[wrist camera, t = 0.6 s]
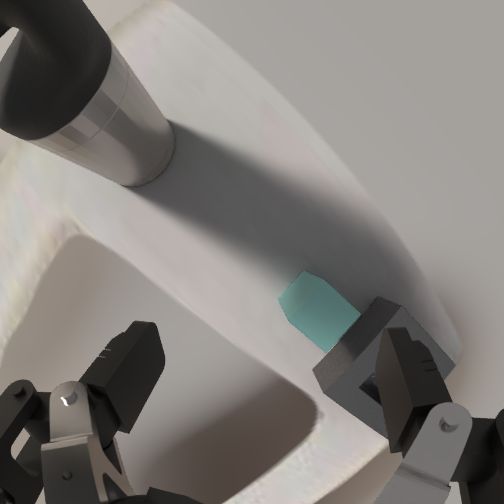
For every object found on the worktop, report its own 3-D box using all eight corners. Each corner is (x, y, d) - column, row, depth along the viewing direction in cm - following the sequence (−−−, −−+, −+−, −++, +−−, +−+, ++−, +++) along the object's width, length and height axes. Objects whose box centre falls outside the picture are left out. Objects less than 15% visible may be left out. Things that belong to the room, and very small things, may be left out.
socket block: (312, 369, 32) (323, 392, 26) (378, 296, 32) (401, 305, 26) (371, 415, 32) (388, 439, 26) (430, 349, 32) (455, 365, 26)
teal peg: (277, 298, 32) (288, 321, 22) (303, 270, 32) (324, 280, 22) (305, 322, 32) (326, 353, 22) (330, 294, 32) (361, 314, 22)
